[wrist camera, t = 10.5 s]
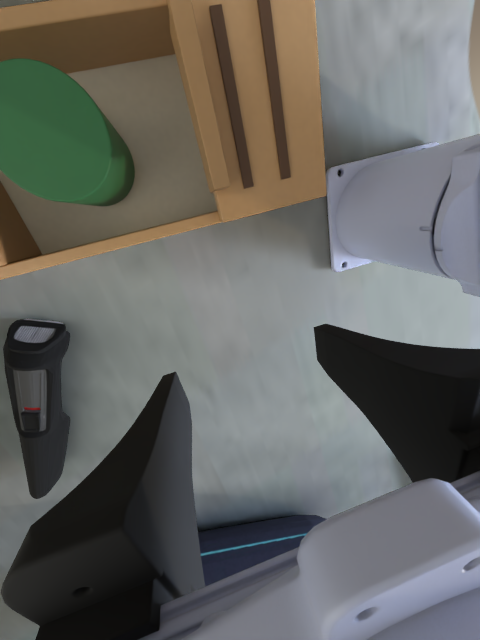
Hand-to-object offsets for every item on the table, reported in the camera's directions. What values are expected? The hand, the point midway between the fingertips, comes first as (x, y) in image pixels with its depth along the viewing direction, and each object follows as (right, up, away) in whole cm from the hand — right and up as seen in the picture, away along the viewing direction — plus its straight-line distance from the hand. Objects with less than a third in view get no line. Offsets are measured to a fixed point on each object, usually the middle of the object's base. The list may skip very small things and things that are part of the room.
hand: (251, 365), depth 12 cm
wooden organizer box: (-6, +13, +4) cm, 15 cm away
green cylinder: (-9, +11, +2) cm, 14 cm away
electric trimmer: (-17, -5, +9) cm, 19 cm away
